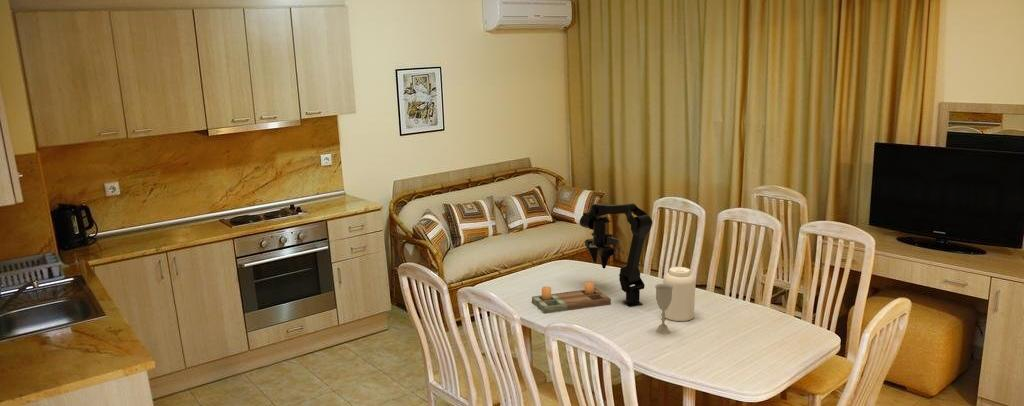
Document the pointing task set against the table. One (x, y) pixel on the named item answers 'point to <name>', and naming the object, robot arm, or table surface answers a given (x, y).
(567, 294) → the pin board
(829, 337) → the table surface
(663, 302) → the chalice
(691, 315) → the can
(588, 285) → the orange pin
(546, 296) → the model pin
